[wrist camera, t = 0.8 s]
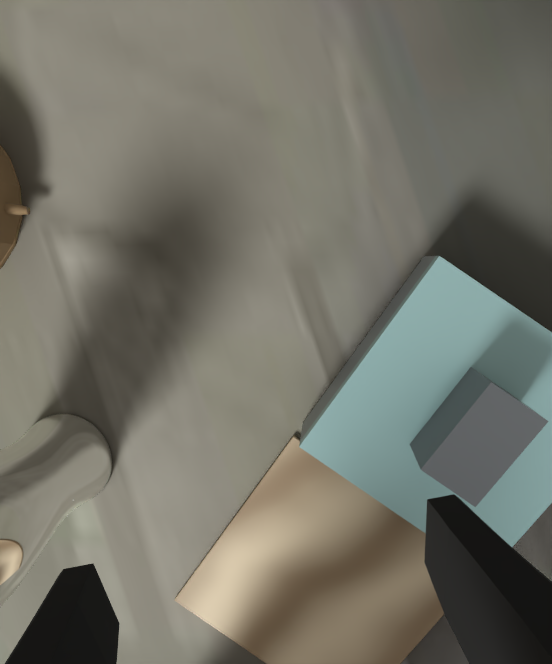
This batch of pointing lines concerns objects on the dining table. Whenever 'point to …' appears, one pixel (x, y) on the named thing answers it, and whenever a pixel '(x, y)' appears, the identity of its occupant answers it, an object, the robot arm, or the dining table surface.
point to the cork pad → (316, 572)
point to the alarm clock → (9, 207)
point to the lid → (448, 408)
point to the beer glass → (45, 488)
